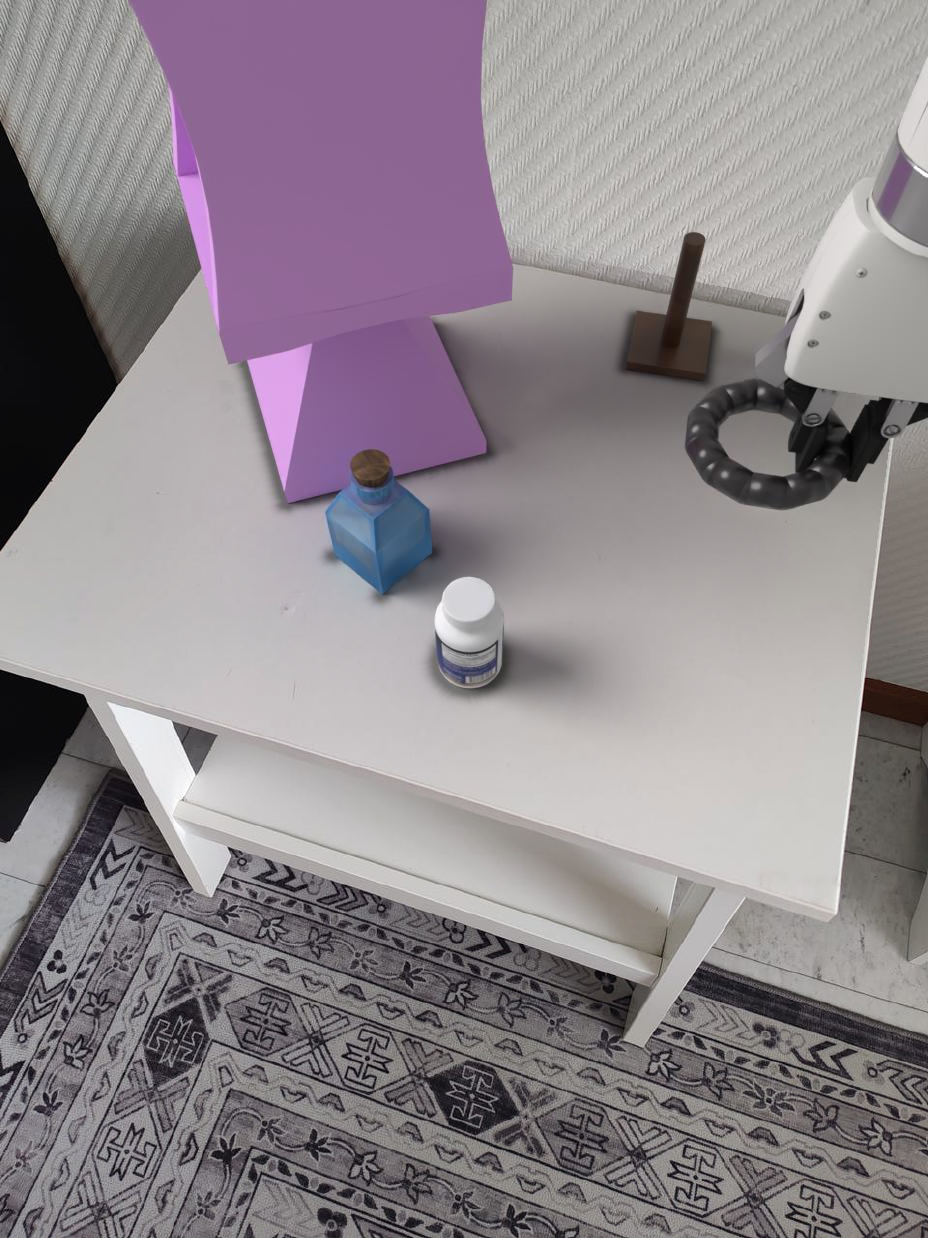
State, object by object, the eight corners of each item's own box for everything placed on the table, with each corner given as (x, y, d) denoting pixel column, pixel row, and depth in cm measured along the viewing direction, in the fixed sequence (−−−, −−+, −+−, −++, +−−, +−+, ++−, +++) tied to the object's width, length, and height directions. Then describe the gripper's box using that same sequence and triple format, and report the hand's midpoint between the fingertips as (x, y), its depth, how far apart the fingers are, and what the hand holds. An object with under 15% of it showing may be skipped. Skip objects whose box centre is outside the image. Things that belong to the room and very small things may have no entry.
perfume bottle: (432, 552, 79) (426, 462, 69) (382, 594, 77) (368, 508, 67) (384, 514, 82) (371, 422, 71) (334, 555, 79) (314, 465, 69)
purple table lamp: (232, 357, 93) (61, -210, 54) (436, 311, 96) (411, -253, 58) (275, 518, 82) (99, -53, 43) (504, 459, 85) (530, -117, 47)
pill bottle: (452, 625, 75) (449, 558, 67) (511, 645, 74) (516, 581, 66) (427, 677, 73) (420, 615, 64) (487, 699, 72) (489, 639, 63)
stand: (710, 328, 94) (741, 217, 83) (703, 380, 90) (735, 271, 79) (635, 317, 95) (656, 206, 84) (625, 368, 91) (646, 259, 80)
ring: (842, 407, 58) (853, 384, 56) (844, 527, 53) (857, 506, 51) (689, 385, 59) (695, 362, 57) (676, 501, 54) (683, 479, 52)
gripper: (1139, 158, 41) (953, 436, 57) (785, 120, 43) (699, 400, 58) (1173, 261, 37) (962, 528, 53) (782, 215, 39) (691, 487, 54)
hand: (825, 459), depth 55 cm, fingers closed on ring, 2 cm apart
